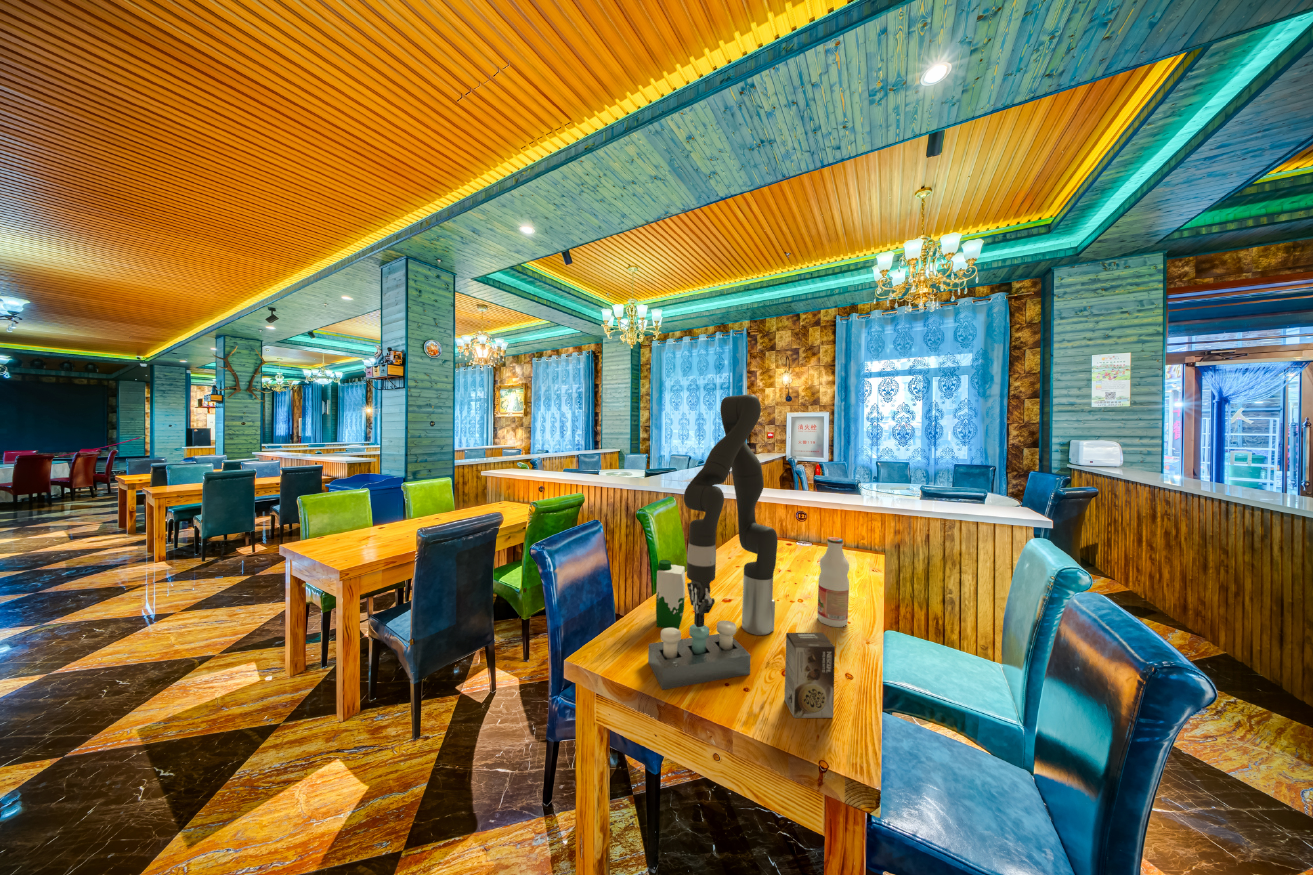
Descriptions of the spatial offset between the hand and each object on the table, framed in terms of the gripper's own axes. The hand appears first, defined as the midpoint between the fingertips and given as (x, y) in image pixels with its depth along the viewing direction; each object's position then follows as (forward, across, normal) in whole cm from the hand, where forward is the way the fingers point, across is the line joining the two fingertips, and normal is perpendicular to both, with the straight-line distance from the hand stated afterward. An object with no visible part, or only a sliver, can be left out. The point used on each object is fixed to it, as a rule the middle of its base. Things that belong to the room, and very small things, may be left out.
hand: (699, 625), depth 106 cm
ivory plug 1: (+7, 0, +8) cm, 10 cm away
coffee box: (+12, -21, -18) cm, 30 cm away
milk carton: (+12, +25, -1) cm, 28 cm away
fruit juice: (+11, +13, -55) cm, 58 cm away
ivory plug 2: (+7, 0, -8) cm, 11 cm away
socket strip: (+11, 0, 0) cm, 11 cm away
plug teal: (+7, 0, 0) cm, 7 cm away
